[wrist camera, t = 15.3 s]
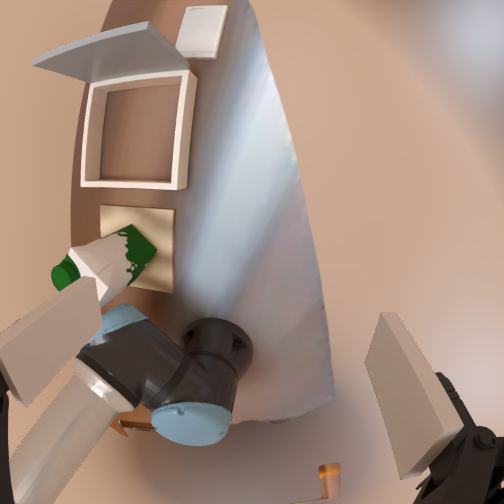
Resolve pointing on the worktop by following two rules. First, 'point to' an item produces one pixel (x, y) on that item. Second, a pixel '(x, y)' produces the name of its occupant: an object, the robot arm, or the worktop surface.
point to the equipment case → (121, 78)
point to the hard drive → (201, 31)
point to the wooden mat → (156, 232)
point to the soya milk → (106, 263)
